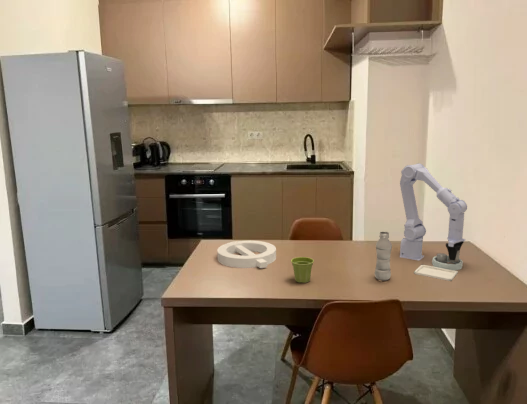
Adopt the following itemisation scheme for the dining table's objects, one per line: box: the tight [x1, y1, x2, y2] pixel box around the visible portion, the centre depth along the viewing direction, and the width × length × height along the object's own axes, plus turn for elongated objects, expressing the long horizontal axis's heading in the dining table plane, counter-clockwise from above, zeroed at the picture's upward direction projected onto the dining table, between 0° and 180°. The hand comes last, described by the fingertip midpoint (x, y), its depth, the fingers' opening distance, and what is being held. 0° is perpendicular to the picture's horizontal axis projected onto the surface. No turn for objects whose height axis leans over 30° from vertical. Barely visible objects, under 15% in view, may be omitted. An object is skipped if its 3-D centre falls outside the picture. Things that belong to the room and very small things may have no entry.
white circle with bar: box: [216, 239, 277, 269], centre depth 211 cm, size 28×28×5 cm
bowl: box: [431, 255, 464, 271], centre depth 194 cm, size 12×12×3 cm
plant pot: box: [290, 256, 315, 284], centre depth 181 cm, size 9×9×9 cm
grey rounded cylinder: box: [447, 250, 461, 263], centre depth 192 cm, size 4×4×5 cm
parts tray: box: [413, 264, 459, 282], centre depth 186 cm, size 15×11×1 cm
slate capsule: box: [436, 252, 448, 264], centre depth 196 cm, size 4×4×5 cm
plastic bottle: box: [374, 231, 393, 282], centre depth 179 cm, size 6×7×20 cm
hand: (453, 258), depth 192 cm, fingers closed on grey rounded cylinder, 4 cm apart
